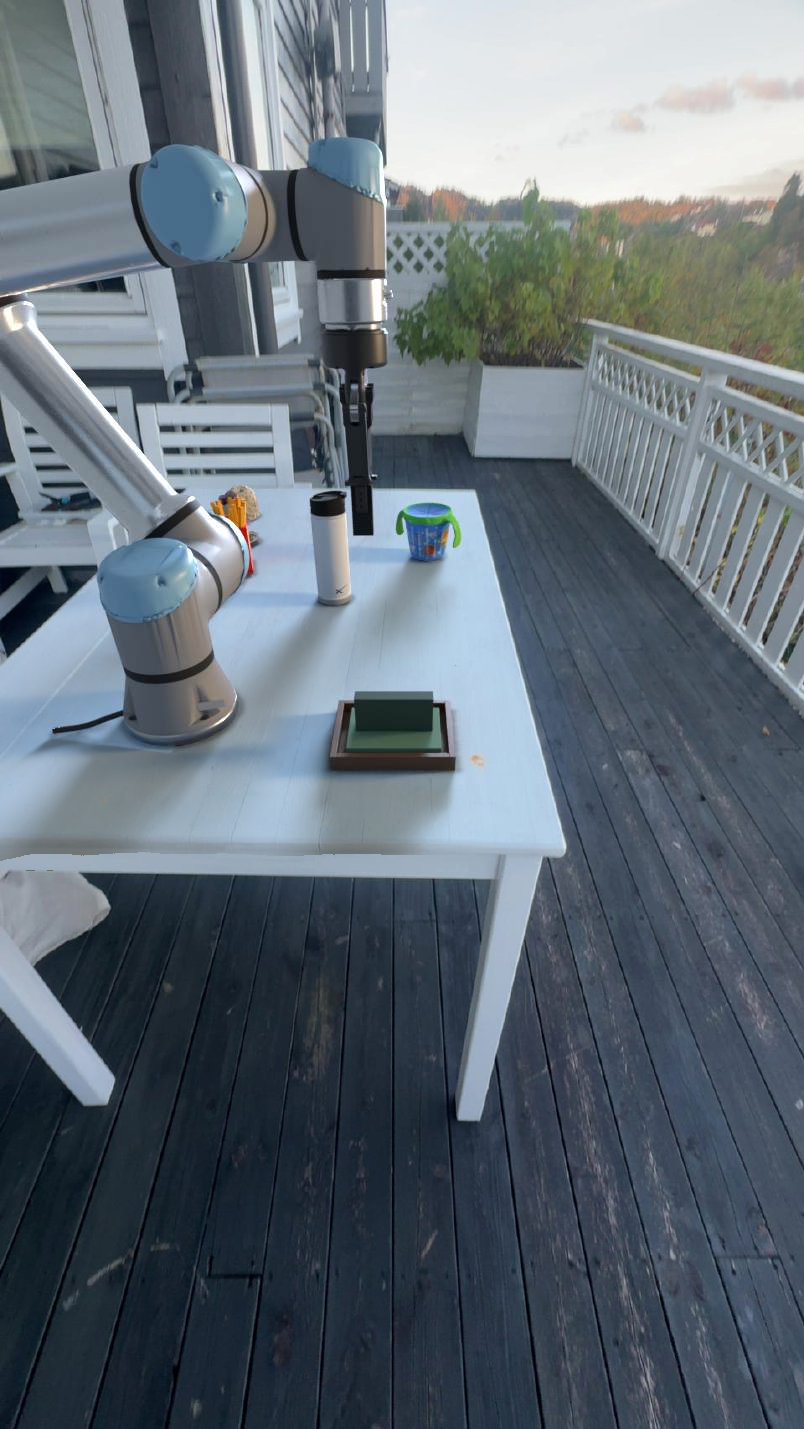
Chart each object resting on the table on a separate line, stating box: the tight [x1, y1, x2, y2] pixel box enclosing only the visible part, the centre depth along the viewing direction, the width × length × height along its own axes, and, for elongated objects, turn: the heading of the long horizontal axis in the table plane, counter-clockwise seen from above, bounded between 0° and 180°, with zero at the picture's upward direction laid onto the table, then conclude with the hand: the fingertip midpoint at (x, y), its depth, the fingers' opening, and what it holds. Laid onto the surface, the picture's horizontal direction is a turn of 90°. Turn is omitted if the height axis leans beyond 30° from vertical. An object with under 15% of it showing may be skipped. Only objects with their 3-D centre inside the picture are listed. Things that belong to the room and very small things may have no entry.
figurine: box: [217, 491, 261, 548], centre depth 142 cm, size 8×8×12 cm
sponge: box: [222, 484, 260, 522], centre depth 159 cm, size 9×10×10 cm
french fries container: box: [209, 496, 254, 577], centre depth 128 cm, size 7×9×14 cm
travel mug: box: [309, 490, 352, 606], centre depth 114 cm, size 6×7×20 cm
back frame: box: [329, 699, 457, 771], centre depth 83 cm, size 16×13×2 cm
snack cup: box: [395, 502, 462, 562], centre depth 134 cm, size 16×10×10 cm
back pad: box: [346, 690, 441, 753], centre depth 81 cm, size 12×9×6 cm
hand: (363, 533), depth 83 cm, fingers closed
